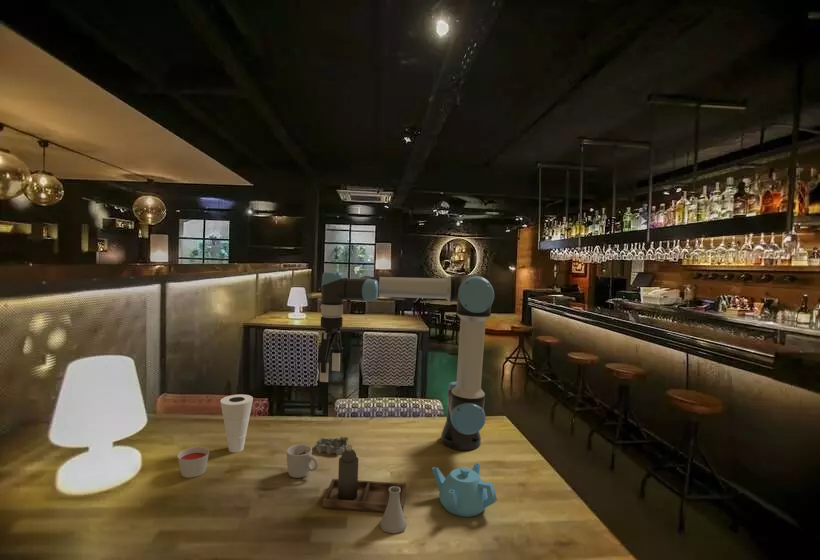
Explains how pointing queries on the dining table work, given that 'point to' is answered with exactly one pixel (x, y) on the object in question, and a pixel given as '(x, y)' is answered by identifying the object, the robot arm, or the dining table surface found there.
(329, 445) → the egg carton
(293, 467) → the cup
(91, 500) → the dining table surface
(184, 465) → the candle
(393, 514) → the flask
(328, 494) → the caddy
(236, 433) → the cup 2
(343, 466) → the pepper mill
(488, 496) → the teapot
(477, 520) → the dining table surface
